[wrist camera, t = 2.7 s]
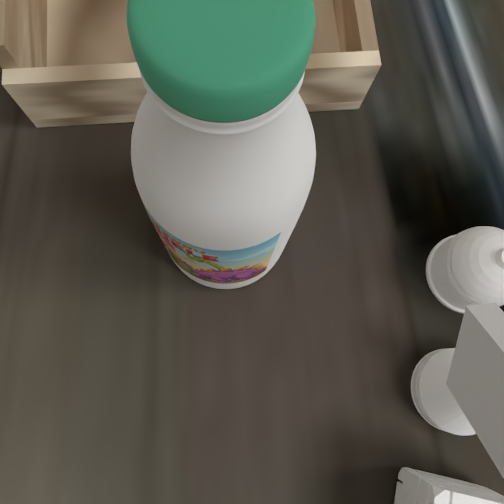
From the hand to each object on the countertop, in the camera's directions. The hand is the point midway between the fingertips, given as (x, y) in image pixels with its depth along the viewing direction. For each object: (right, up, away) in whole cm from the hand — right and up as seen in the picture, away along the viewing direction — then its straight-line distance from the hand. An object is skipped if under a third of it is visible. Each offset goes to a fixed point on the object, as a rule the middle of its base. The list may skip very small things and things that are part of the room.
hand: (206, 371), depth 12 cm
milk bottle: (-1, +4, +19) cm, 19 cm away
